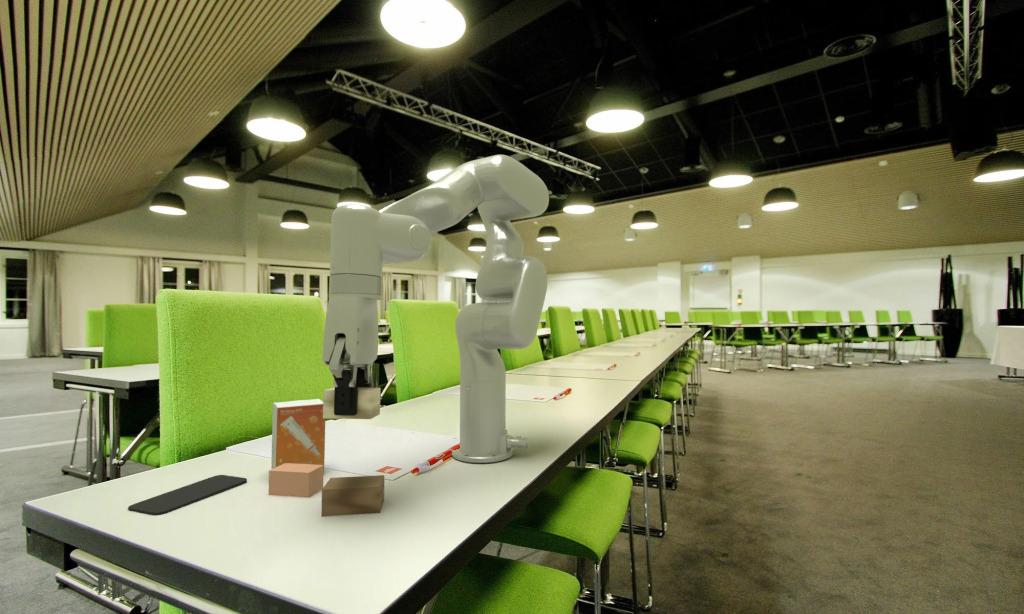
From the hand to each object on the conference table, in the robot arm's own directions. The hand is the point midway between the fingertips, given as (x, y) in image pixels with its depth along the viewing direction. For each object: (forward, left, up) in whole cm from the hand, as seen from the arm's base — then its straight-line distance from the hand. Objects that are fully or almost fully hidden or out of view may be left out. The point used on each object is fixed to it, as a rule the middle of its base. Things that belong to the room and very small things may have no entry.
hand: (352, 410), depth 68 cm
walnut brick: (0, 0, -15) cm, 15 cm away
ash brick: (0, 0, -1) cm, 1 cm away
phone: (+28, -5, -15) cm, 32 cm away
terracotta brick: (+12, -6, -14) cm, 20 cm away
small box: (+16, -14, -15) cm, 26 cm away
